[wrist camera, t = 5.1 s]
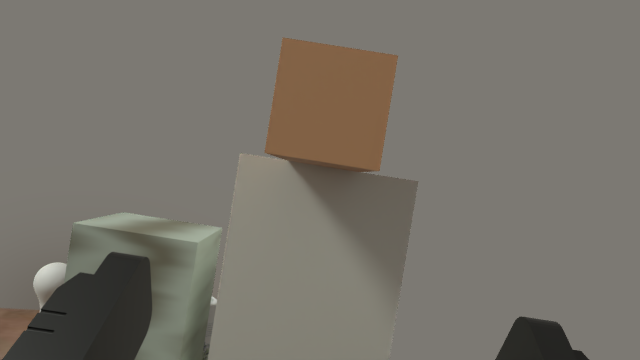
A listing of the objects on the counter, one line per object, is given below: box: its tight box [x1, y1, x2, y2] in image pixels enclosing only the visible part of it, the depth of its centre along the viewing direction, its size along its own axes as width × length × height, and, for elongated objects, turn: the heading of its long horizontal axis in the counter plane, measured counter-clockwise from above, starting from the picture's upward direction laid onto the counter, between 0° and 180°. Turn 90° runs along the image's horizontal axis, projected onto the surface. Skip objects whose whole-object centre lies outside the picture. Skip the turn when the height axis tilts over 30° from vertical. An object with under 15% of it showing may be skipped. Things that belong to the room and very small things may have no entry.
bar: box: [265, 38, 398, 172], centre depth 29 cm, size 26×4×4 cm, turn 179°
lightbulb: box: [33, 263, 67, 312], centre depth 76 cm, size 6×6×11 cm
